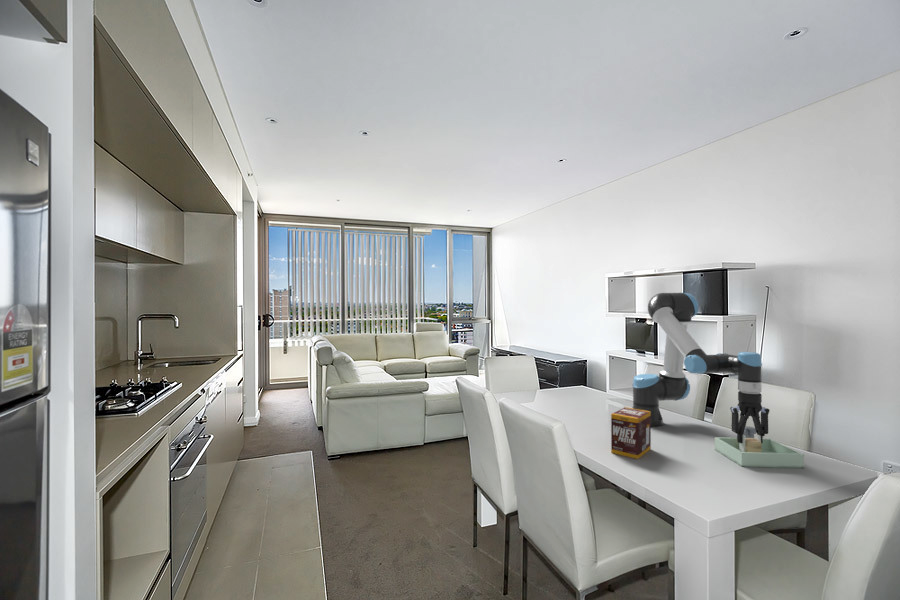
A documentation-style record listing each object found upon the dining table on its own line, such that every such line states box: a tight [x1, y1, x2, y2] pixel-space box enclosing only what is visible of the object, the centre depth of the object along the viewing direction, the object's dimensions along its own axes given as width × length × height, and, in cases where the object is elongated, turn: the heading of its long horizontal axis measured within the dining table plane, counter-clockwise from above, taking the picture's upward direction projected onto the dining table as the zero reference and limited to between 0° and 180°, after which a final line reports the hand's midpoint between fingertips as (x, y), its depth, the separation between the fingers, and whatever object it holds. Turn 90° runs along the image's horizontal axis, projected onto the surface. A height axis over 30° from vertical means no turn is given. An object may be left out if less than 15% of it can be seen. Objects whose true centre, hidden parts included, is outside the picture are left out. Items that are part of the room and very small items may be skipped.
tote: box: [714, 436, 805, 469], centre depth 161 cm, size 17×21×5 cm
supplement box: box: [610, 407, 652, 460], centre depth 169 cm, size 10×15×16 cm
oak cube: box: [745, 438, 762, 453], centre depth 164 cm, size 5×5×5 cm
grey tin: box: [743, 425, 757, 438], centre depth 176 cm, size 5×5×7 cm
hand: (749, 451), depth 165 cm, fingers closed on oak cube, 5 cm apart
